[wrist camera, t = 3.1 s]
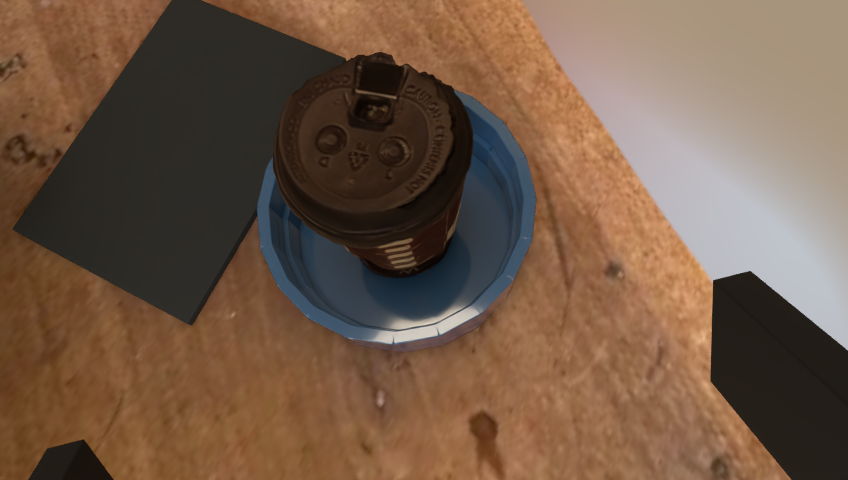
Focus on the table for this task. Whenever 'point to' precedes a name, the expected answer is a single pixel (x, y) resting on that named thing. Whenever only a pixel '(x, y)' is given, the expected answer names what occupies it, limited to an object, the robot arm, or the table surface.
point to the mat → (175, 156)
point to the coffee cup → (376, 162)
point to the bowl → (426, 292)
